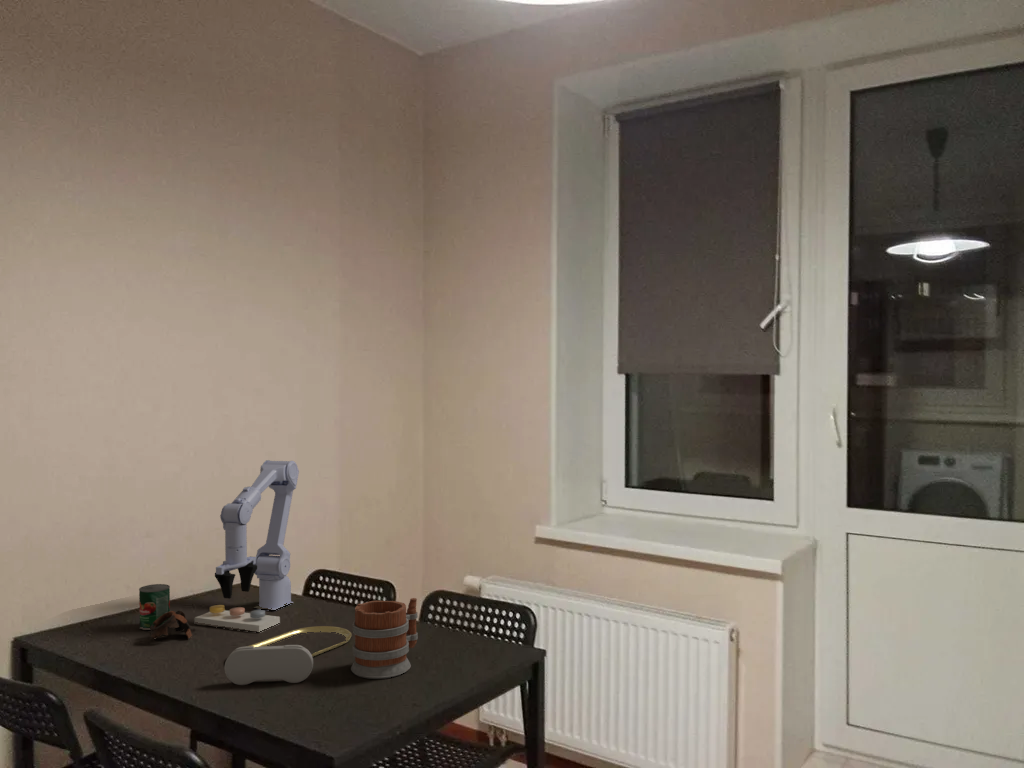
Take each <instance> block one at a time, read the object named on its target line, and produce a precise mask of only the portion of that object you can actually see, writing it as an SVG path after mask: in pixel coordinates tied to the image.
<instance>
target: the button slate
mask: <svg viewBox="0 0 1024 768" xmlns="http://www.w3.org/2000/svg"><path fill="white" fill-rule="evenodd" d="M249 613H250V617H251V618H261V617H264V616H265V615H266V610H261V609H253V610H251V611H250V612H249Z"/></svg>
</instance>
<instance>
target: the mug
mask: <svg viewBox="0 0 1024 768" xmlns="http://www.w3.org/2000/svg"><path fill="white" fill-rule="evenodd" d="M417 600H418V599H417V598H415V597H411V598H410V599H409V603H408V607H407V605H406V603H404V602H400V601H397V600H396V601H395V600H371V601H367V602H363V603H357V605H356V606H355V608H354V621H352V633H353V634H354V642H353V644H352V654H353V656H354V657H355V658H354V661H353V663H352V664H351V667H350V671H351V672H352V673H353V674H354V676H356V677H360V678H362V679H363V678H364V679H367V680H368V679H369V680H370V679H371V680H385V679H390V678H391V677H392V678H394V677H398V676H401V674H402V675H404V674H405V673H407V672H408V671H409V670H410V668H411V666H412V665H411V662H410V660H409V659H408V657H407V654H408V653H409V651H410V649H414V648H415V647H416V644H417V641H418V639H419V638H418V637H419V636H418V634H419V633H418V632H417V619H418V617H419V616H418V615H419V613H418V612H417V602H418V601H417ZM403 673H404V674H403Z"/></svg>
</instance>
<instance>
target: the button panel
mask: <svg viewBox="0 0 1024 768" xmlns="http://www.w3.org/2000/svg"><path fill="white" fill-rule="evenodd" d="M195 622H198V623H205V624H211V625H218V626H225V627H231V628H232V627H233V628H239V629H245V630H250V631H257V632H260V631H262V630H264V629H267V628H269V627H271V626H274V625H276V624H278V623H280V624H281V617H280V616H276V615H267V614H265V616H264V617H261V618H251V617H250V612H245V613H244V614H242V615H237V616H233V615H230V610H226V609H225V611H224V612H220V613H210V611H208V612H206V613H203V614H201V615H198V616H194V623H195ZM278 625H279V624H278ZM276 626H277V625H276ZM274 627H275V626H274ZM269 629H270V628H269ZM267 630H268V629H267ZM262 632H263V631H262ZM260 633H261V632H260Z"/></svg>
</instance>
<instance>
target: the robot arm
mask: <svg viewBox="0 0 1024 768" xmlns="http://www.w3.org/2000/svg"><path fill="white" fill-rule="evenodd" d="M259 469H260V470H259V471H260V473H259V474H258V476H257V478H256V479H255V480H254V482H253V483H252V485H251V486H245V487H243V489H242V491H241V492H240V493H239V494H238V495H237V497H236V498H235V499H234V500H233V501H231V503H230V502H229V503H227V504H226V505H223V506H222V509H221V512H220V516H219V517H220V521H221V523H222V529H223V530H224V533H225V534H224V535H225V536H224V537H225V538H224V541H225V543H224V544H225V545H224V551H225V560H224V561H222V563H221V564H220V565H217V566H216V567H215V573H214V577H215V578H216V580H217V582H218V584H219V586H220V589H221V592H222V596H223V598H224V599H231V598H232V596H233V585H234V581H235V578H236V573H231V571H234V570H236V569H237V570H238V573H239V579H240V589H241V592H247V593H248V592H250V589H251V585H252V581H253V578H254V575H256V579H258V584H259V585H258V587H259V588H258V589H259V590H258V591H259V594H258V595H259V596H258V597H259V600H258V602H259V604H258V605H259V606H260V607H262V608H268V609H271V608H272V609H271V610H276V609H278V608H280V607H283V606H285V605H284V604H286V603H287V604H286V605H288V604H290V603H293V604H294V601H292V584H291V579H290V577H289V576H288V574H289V572H290V570H291V553H290V551H289V550H288V549H287V548H286V547H285V546H284V543H285V538H286V533H287V526H288V522H289V515H290V511H291V506H292V505H291V504H292V500H293V494H294V490H296V489H297V485H298V478H299V473H300V470H299V468H298V464H297V462H296V461H294V460H289V461H288V460H269V459H268V460H265V461H264V462H263V463H262V465H260V468H259ZM268 488H269V489H271V490H273V491H274V499H273V503H272V509H271V515H270V519H269V525H268V529H267V536H266V541H265V544H264V545H262V546H261V547H259V548H258V549H257V551H256V555H255V556H248V544H247V543H248V542H247V541H248V540H247V539H248V537H247V531H248V530H247V528H248V527H247V526H248V525H247V524H248V523H249V522H250V520H251V517H252V514H253V510H254V509H255V507H256V506H257V505H258V504H259V503H260V501H261V499H262V493H264V492H265V490H266V489H268ZM290 605H291V604H290ZM288 606H289V605H288ZM283 608H284V607H283ZM278 610H279V609H278ZM276 611H277V610H276Z"/></svg>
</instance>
